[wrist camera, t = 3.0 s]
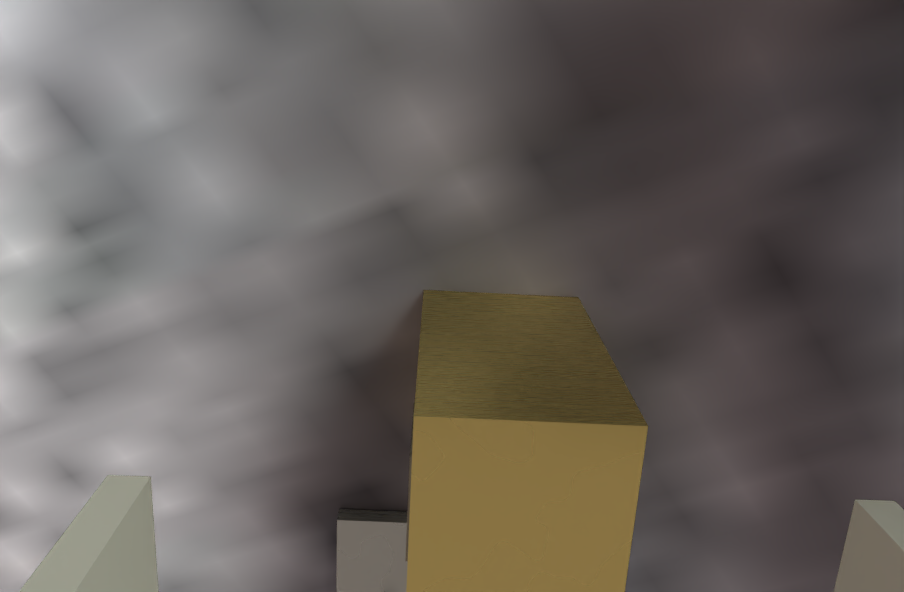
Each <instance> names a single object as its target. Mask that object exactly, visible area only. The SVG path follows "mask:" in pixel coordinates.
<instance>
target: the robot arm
mask: <svg viewBox="0 0 904 592" xmlns="http://www.w3.org/2000/svg"><path fill="white" fill-rule="evenodd" d="M19 592H158V578H157V563H156V548H155V533H154V518H153V504H152V489H151V477H148V476H117V475H108V476H107V477H106V478H105V480H104V481H103V482H102V484H101V485H100V486H99V488H98V489H97V490H96V492H95V493H94V494H93V495H92V497H91V498H90V499H89V501H88V502H87V503H86V505H85V506H84V507H83V509H82V510H81V511H80V513H79V514H78V515H77V516H76V518H75V519H74V520H73V522H72V523H71V524H70V526H69V527H68V528H67V530H66V531H65V532H64V534H63V535H62V536H61V537H60V539H59V540H58V541H57V543H56V544H55V545H54V547H53V548H52V549H51V551H50V552H49V553H48V555H47V556H46V557H45V558H44V560H43V561H42V562H41V564H40V565H39V566H38V568H37V569H36V570H35V572H34V573H33V574H32V576H31V577H30V578H29V579H28V581H27V582H26V583H25V585H24V586H23V587H22V589H21V590H20V591H19ZM834 592H904V509H903V508H901V507H900V506H899V505H898V504H897V503H896V502H895V501H884V500H855V502H854V506H853V511H852V515H851V519H850V524H849V528H848V532H847V537H846V541H845V545H844V549H843V554H842V558H841V562H840V567H839V571H838V575H837V580H836V584H835V588H834Z"/></svg>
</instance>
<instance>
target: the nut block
mask: <svg viewBox="0 0 904 592" xmlns="http://www.w3.org/2000/svg"><path fill="white" fill-rule="evenodd" d="M647 430H648V425H647V423H646V421H645V420H644V418H643V416H642V414H641V412H640V410H639V409H638V407H637V405H636V403H635V401H634V399H633V398H632V396H631V394H630V392H629V390H628V388H627V386H626V385H625V383H624V381H623V379H622V377H621V375H620V374H619V372H618V370H617V368H616V366H615V364H614V362H613V361H612V359H611V357H610V355H609V353H608V351H607V350H606V348H605V346H604V344H603V342H602V340H601V339H600V337H599V335H598V333H597V331H596V329H595V327H594V326H593V324H592V322H591V320H590V318H589V316H588V315H587V313H586V311H585V309H584V307H583V305H582V304H581V302H580V300H579V298H578V297H561V296H540V295H519V294H498V293H477V292H456V291H435V290H424V293H423V305H422V318H421V331H420V343H419V356H418V369H417V381H416V394H415V403H414V409H413V422H412V434H411V447H410V462H409V486H408V510H407V534H406V558H405V561H408V564H407V587H406V592H625V586H626V579H627V571H628V564H629V557H630V550H631V543H632V536H633V529H634V522H635V515H636V508H637V501H638V494H639V487H640V480H641V473H642V466H643V459H644V452H645V444H646V437H647Z"/></svg>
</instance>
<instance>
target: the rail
mask: <svg viewBox="0 0 904 592" xmlns="http://www.w3.org/2000/svg"><path fill="white" fill-rule="evenodd" d="M406 534H407V512H400V511H375V510H350V509H339V514H338V518H337V573H336V592H406V587H407V564H408V561H405V558H406Z"/></svg>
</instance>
